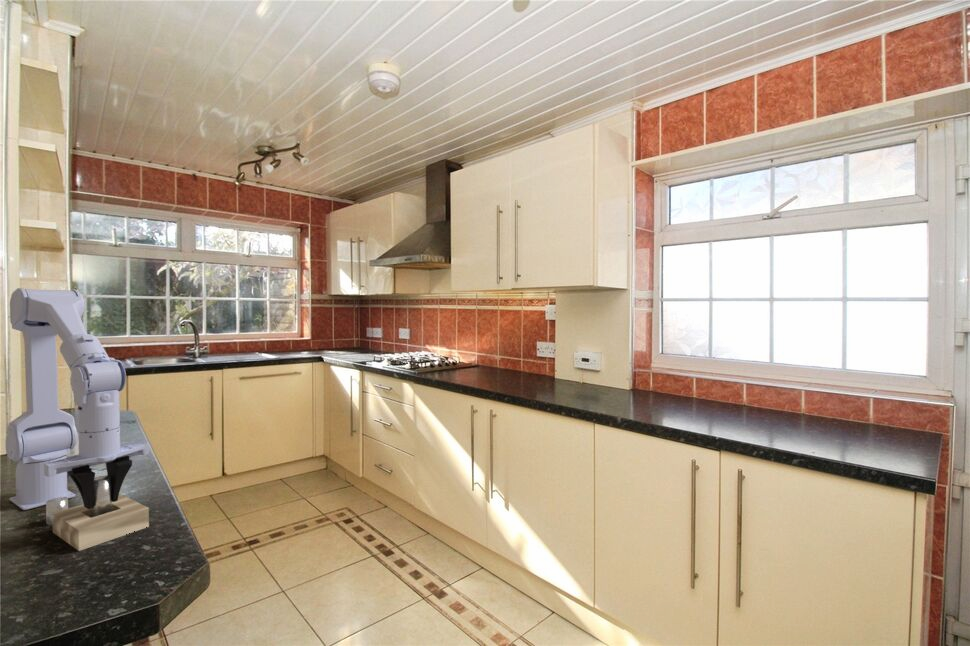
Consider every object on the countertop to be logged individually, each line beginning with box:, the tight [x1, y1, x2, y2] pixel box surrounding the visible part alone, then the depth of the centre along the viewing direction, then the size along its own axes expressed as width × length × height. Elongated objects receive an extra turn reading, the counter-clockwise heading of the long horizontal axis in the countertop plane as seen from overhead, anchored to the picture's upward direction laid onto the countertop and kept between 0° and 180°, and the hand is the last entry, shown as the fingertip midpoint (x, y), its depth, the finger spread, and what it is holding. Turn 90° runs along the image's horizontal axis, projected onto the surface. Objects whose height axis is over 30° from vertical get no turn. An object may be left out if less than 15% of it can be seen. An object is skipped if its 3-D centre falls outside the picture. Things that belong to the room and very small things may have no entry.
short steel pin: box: [45, 497, 69, 526], centre depth 85 cm, size 3×3×4 cm
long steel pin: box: [90, 475, 112, 518], centre depth 82 cm, size 3×3×7 cm
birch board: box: [52, 493, 150, 552], centre depth 82 cm, size 12×10×4 cm
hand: (101, 503), depth 82 cm, fingers closed on long steel pin, 3 cm apart
